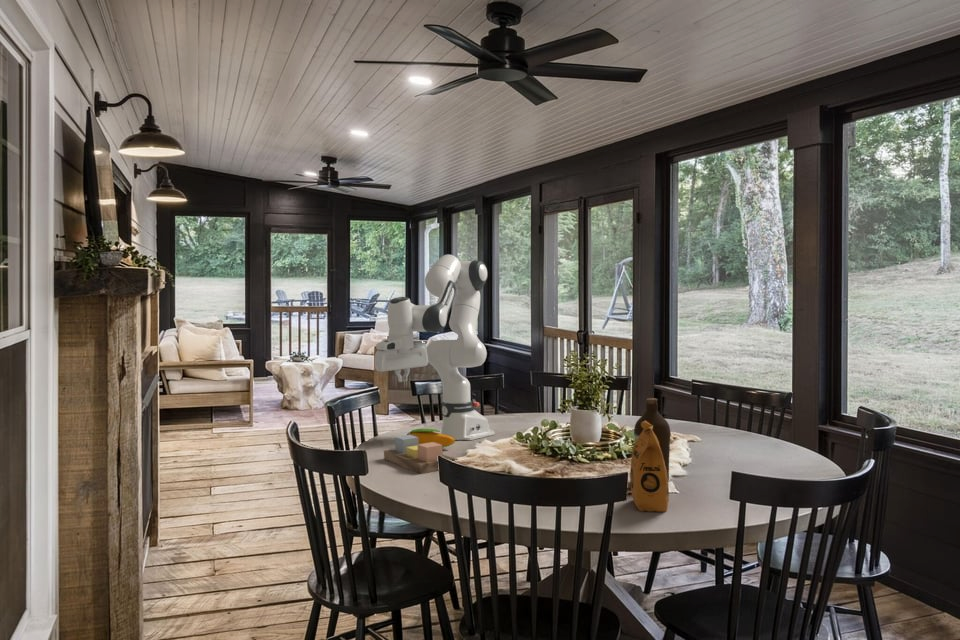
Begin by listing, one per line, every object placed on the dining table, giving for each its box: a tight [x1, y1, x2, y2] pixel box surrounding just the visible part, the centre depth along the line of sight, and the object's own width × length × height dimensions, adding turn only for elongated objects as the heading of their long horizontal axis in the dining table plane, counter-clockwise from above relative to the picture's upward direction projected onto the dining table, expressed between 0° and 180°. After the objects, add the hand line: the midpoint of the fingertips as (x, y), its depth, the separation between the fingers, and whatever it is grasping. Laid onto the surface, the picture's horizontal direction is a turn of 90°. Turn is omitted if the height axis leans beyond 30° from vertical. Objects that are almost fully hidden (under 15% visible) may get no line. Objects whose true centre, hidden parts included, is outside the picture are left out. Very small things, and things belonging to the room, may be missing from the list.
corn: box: [406, 428, 456, 448], centre depth 266 cm, size 7×8×20 cm
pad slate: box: [394, 434, 419, 454], centre depth 250 cm, size 6×6×5 cm
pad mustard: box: [406, 445, 418, 458], centre depth 243 cm, size 6×6×5 cm
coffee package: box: [629, 421, 670, 513], centre depth 191 cm, size 10×12×22 cm
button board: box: [383, 448, 456, 475], centre depth 244 cm, size 13×26×3 cm, turn 35°
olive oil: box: [633, 397, 671, 483], centre depth 214 cm, size 11×11×25 cm
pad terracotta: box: [418, 442, 444, 462], centre depth 237 cm, size 6×6×5 cm
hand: (402, 381), depth 255 cm, fingers closed
